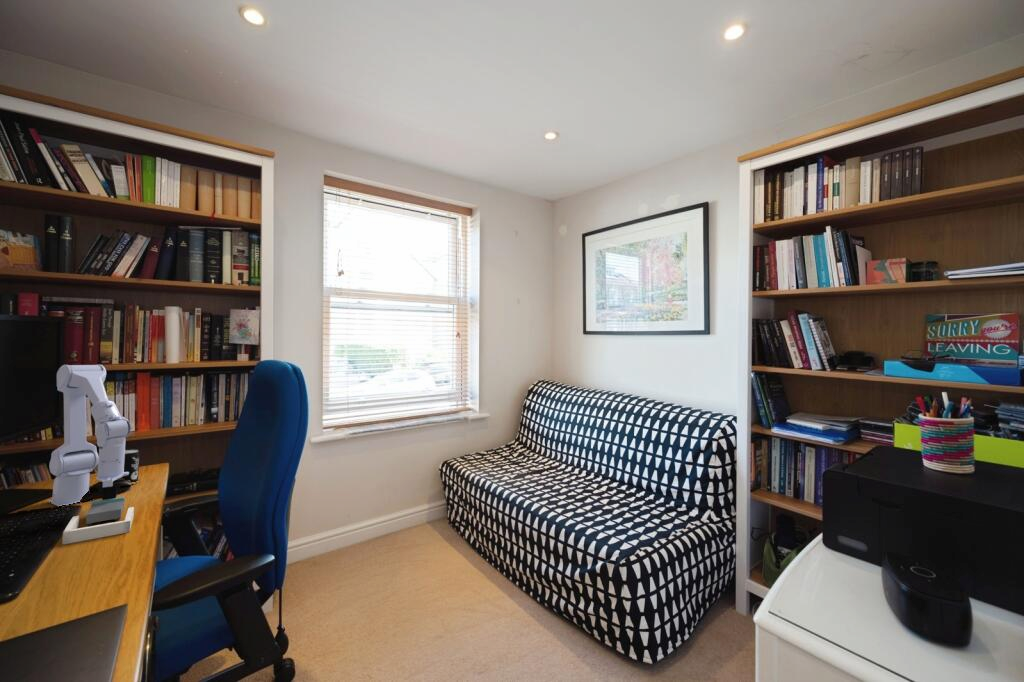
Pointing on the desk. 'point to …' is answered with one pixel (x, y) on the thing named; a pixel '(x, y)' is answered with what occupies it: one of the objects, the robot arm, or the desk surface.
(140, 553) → the desk surface
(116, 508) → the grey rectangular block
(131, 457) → the beverage can
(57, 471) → the robot arm
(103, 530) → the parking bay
